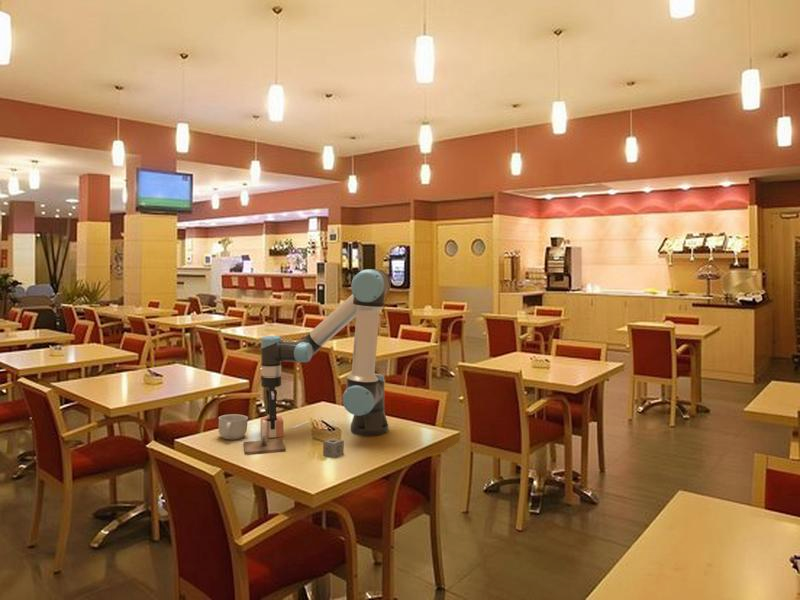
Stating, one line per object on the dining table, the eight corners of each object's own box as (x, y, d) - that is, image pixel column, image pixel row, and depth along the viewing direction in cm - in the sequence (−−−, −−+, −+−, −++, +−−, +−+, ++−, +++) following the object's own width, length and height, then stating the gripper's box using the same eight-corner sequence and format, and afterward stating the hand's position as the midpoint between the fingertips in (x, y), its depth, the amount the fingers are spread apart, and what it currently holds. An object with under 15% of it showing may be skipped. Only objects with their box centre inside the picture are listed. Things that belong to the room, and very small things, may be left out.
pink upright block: (281, 430, 232) (281, 416, 231) (283, 436, 224) (283, 421, 224) (260, 432, 229) (260, 417, 229) (262, 438, 222) (262, 422, 221)
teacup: (226, 432, 229) (225, 412, 229) (252, 434, 228) (252, 413, 227) (209, 443, 215) (209, 422, 215) (237, 445, 214) (237, 423, 213)
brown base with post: (282, 441, 218) (282, 415, 218) (285, 451, 207) (285, 423, 206) (243, 444, 214) (243, 417, 213) (244, 454, 203) (244, 426, 202)
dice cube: (323, 455, 203) (323, 441, 203) (332, 451, 207) (332, 437, 207) (334, 458, 200) (334, 444, 200) (343, 454, 204) (343, 440, 204)
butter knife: (288, 427, 237) (294, 427, 236) (324, 412, 261) (329, 413, 260) (288, 428, 237) (294, 428, 236) (324, 414, 262) (329, 414, 260)
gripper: (259, 371, 234) (259, 427, 236) (263, 381, 214) (263, 442, 216) (278, 370, 236) (278, 426, 238) (283, 380, 217) (284, 440, 218)
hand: (271, 433), depth 227 cm, fingers closed on pink upright block, 8 cm apart
